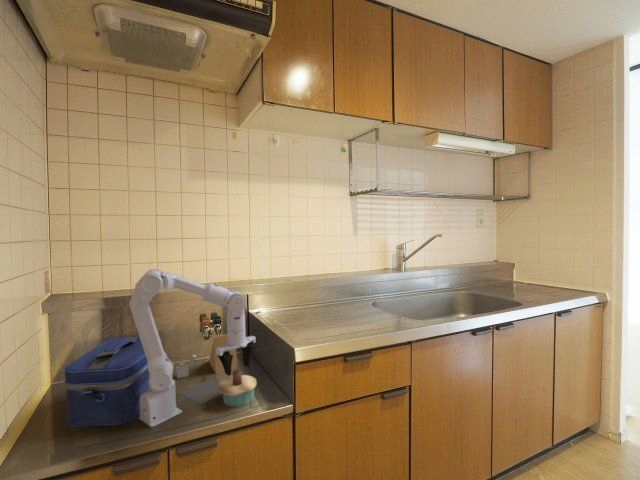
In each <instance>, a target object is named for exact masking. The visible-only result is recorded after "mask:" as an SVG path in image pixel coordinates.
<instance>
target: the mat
mask: <svg viewBox="0 0 640 480" xmlns="http://www.w3.org/2000/svg"><path fill="white" fill-rule="evenodd" d="M220 382H221V381H218V380H216V379H213V378H210V379H206V380H205V381H202V382H201V383H198V384H195V385H193V386H191V387H189V388H186V389H185V390H183V391H180V392H178V394H179V395H180V396H183V397H184V398H186V399H188V400H190V401H192V402H194V403H196V404H198V405H200V406H202V405H203V404H205V403H208V402H210V401H211V400H213V399H215V398H217V397H220V396H223V394H221V393H220V392H219V391H218V384H219V383H220Z"/></svg>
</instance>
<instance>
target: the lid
mask: <svg viewBox="0 0 640 480" xmlns="http://www.w3.org/2000/svg"><path fill="white" fill-rule="evenodd" d="M219 382H220V383H219V384H218V391H219V392H220V393H221V394H222V395H223V394H224V395H241V394H245V393H247V392H250V391H251V390H253V389H254V390H255V389H256V387H257V378H255V377H254V376H252V375H247V374H242V369H234V370H232V376H231V375H230V376H228V377H226V378H224V379H222V380H221V381H219Z"/></svg>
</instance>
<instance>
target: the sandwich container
mask: <svg viewBox="0 0 640 480" xmlns="http://www.w3.org/2000/svg"><path fill="white" fill-rule="evenodd" d="M212 341H213V342H212V347H211V351H210V355H209V359H208V362H209V364H210V366H211V368H212V370H213V371H214V373H215V374H219V373H225V371H224V367H223V365H222V363H221V361H220V359H219V357H218V356H217V355H216V349H217V348H219V347H221V346H223V345H224V344H226V343H227V342H228V336H227V333H226V334H221V335H220V334H219V335H217V336H214V337H213V340H212ZM229 353H230V354H231V355H233V359H232V365H231V371H234V370H238V367H237V364H238V363H237V349H235V350H232V351H229Z"/></svg>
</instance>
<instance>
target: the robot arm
mask: <svg viewBox="0 0 640 480" xmlns="http://www.w3.org/2000/svg"><path fill="white" fill-rule="evenodd" d="M134 286H135V287H134V289H133V292H132V295H131V297H130V300H129V302H128V303H129V304H128V305H129V309H130V312H131V315H132V317H133V321H134V324H135V327H136V329H137V333H138V336H139V338H140V339H141V342H142V345H143V348H144V352H145V355H146V358H147V361H148V371H149V375H150V377H149V389H148V390H147V391H146V392H144V393H143V394H141V395H140V414H139V417H138V419H139V420H141V421H142V422H143V423H145V424H146V425H148V426H149V427H151V428H154V427H156V426H157V425H160V424H161V423H163V422H165V421H167V420H170V419H171V418H174V417H176V416H177V415H179V414H182V413H183V410H181V409H180V408H178V407H177V397H176V396H177V395H176V381H175V379H173V373H174V370H175V369H174V368H175V366H174V363H173V362H172V361H171V360H170V359H169V358H168V355H167V353H166V352H165V351H164V348H163V344H162V341H161V340H160V339H161V337H160V334H159V331H158V329H157V325H156V323H155V319H154V316H153V312H152V310H151V307H150V302H151V301H152V299H153V298H154V297H155V296H156V295H157V294H159V293H160V292H161V291H162V290H163V288H164V291H169V290H172V289H177V290H182V291H186V292H189V293H191V294H192V293H193V294H195V295H198V296H201V297H202V299H203V301H204V302H207V303H210V304H213V305H216V306H219V307H222V308H225V307H226V308H227V310H226V311H227V313H226V314H227V315H226V326H227V327H226V332H227V333H226V334H227V336H228V342H227V343H226V344H224V345H223V346H221V347H219V348H217V349H216V355H217V356H218V357H219V359H220V361H221V363H222V365H223V367H224V371H225V372H224V374H225V375H227V376H231V375H232V370H231V365H232V359H233V355H231V354H230V353H229V351H232V350H235V349H236V350H237V349H239V348H241V353H242V362H243V366H244V367H247V368H249V367H250V364H251V362H252V361H251V360H252V356H253V354H254V352H255V349H256V348H257V344H255V343H256V342H257V341H256V336H254V335H249V336H246V315H245V308H246V306H247V302H246V298H245V297H244V295H243V294H242V292H240V291H238V290H235V289H233V288H229V289H228V288H225V287H223V286H220V284H219V283H217V282H214V283H209V284H206V285H205V284H202V283H199V282H196V281H194V280H191V279H188V278H186V277H183V276H181V275H178V274H175V273H172V272H169V271H165V270H164V271H161V270H160V269H156V268H155V269H154V268H153V269H149V270H148V271H146V272H145V273H144V275H142V276H141V278H140V279H139V280H138V281H137V282H136V284H135V285H134Z"/></svg>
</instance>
